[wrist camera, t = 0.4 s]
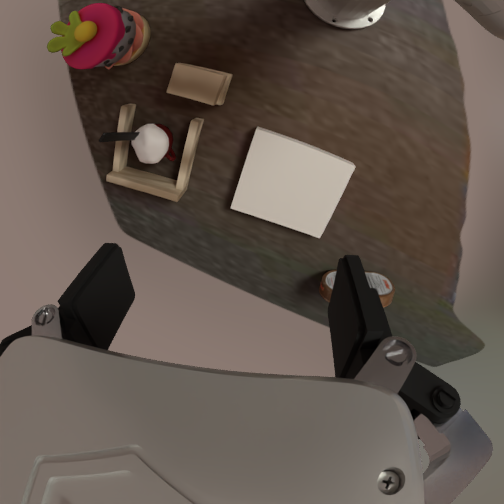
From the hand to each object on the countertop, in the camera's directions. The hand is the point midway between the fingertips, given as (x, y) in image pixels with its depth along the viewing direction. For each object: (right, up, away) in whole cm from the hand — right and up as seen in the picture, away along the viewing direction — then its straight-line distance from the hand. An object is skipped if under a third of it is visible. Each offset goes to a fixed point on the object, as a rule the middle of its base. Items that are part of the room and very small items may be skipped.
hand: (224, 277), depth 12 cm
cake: (-20, +36, +20) cm, 46 cm away
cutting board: (+7, +12, +33) cm, 36 cm away
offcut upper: (-7, +25, +23) cm, 35 cm away
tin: (+22, -3, +43) cm, 48 cm away
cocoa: (-14, +20, +31) cm, 39 cm away
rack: (-15, +19, +31) cm, 39 cm away
